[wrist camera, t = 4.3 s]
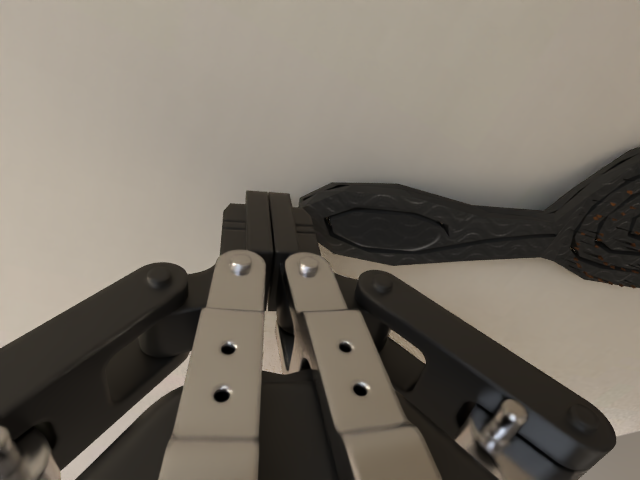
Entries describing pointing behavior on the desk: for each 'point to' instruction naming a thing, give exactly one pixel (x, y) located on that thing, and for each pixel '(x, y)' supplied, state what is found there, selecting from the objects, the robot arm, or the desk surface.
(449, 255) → the hairbrush
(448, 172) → the desk surface
